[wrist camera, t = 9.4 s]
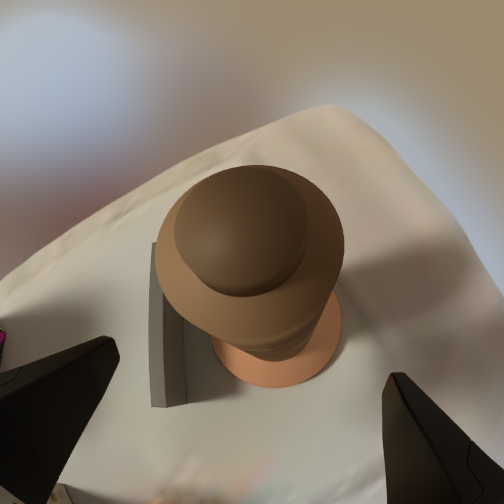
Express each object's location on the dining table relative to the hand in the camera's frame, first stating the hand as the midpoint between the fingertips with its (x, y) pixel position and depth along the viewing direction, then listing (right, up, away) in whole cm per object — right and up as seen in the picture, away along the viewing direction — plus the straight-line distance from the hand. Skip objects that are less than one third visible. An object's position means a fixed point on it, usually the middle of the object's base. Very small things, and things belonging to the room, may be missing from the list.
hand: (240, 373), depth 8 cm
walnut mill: (+2, -1, +10) cm, 11 cm away
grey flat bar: (-5, -2, +12) cm, 13 cm away
